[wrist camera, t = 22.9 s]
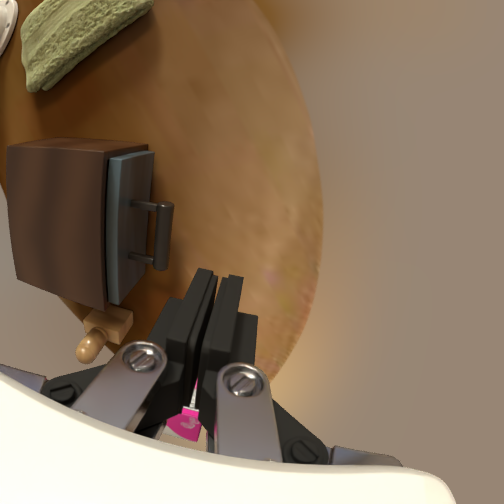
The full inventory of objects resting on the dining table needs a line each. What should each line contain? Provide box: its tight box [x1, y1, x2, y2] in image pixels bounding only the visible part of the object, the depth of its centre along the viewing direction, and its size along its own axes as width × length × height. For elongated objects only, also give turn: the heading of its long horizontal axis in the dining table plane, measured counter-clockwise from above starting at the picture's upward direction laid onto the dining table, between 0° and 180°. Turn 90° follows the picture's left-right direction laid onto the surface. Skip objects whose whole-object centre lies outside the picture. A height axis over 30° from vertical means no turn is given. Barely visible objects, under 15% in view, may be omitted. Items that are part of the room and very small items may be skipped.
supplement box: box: [162, 378, 202, 442], centre depth 31 cm, size 6×6×12 cm
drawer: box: [104, 151, 174, 305], centre depth 26 cm, size 15×13×7 cm
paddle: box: [75, 305, 133, 364], centre depth 31 cm, size 5×2×10 cm, turn 79°
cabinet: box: [6, 137, 148, 312], centre depth 26 cm, size 12×14×8 cm
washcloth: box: [21, 0, 154, 93], centre depth 19 cm, size 13×18×3 cm
